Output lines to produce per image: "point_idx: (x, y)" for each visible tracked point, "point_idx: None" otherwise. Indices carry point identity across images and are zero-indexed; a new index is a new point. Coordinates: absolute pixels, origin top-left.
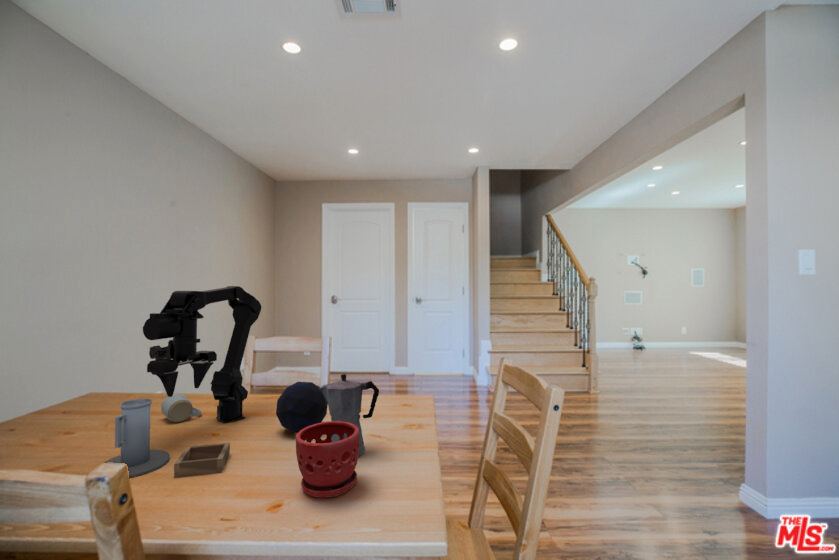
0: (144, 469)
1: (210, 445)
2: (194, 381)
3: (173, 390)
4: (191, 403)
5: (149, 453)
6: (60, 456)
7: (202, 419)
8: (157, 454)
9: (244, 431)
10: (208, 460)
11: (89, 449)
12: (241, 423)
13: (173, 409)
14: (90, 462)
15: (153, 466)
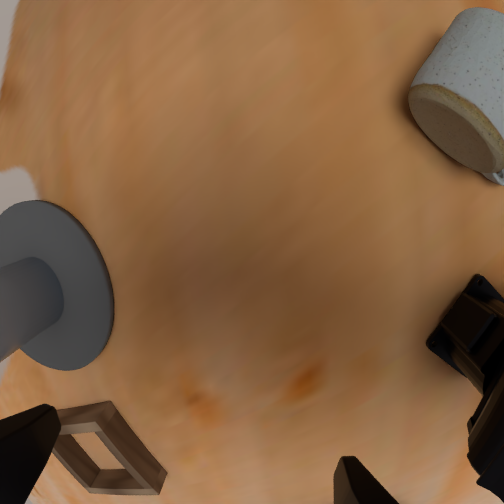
0: (25, 347)
1: (126, 466)
2: (353, 502)
3: (36, 467)
4: None
5: (45, 329)
6: (63, 16)
7: (471, 214)
8: (83, 322)
9: (339, 444)
10: (74, 476)
11: (107, 31)
12: (420, 396)
13: (434, 106)
14: (31, 140)
15: (39, 359)
